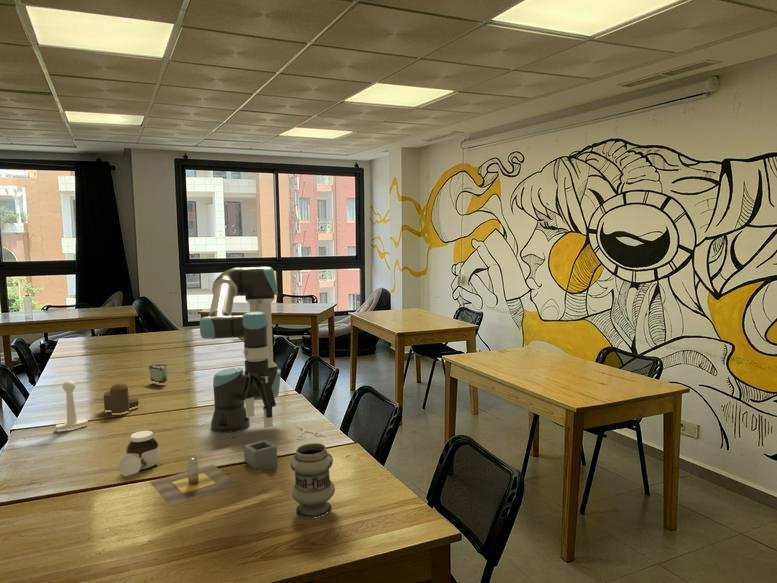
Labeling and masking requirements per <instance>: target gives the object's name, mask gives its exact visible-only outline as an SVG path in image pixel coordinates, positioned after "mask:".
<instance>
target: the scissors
mask: <svg viewBox="0 0 777 583" xmlns="http://www.w3.org/2000/svg"><path fill="white" fill-rule="evenodd" d="M302 429H303V428H302ZM303 430H305V431H303ZM303 430H301V433H300V435H298V436H296V438H297V439H298V441H301V439H303V440H304V439H305V436H304V435H303V434H305V433H308V432H312V433H311V434H312V435H315V436H314V437H323V436H324V438H325V436H326V435H323V433H322V432H319V433H320V434H315V433H316V432H314V431H309V430H307V429H306V428H305V429H303ZM304 432H305V433H304ZM320 435H321V436H320ZM300 436H302V437H300ZM297 439H296V440H297Z"/></svg>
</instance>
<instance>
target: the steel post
mask: <svg viewBox="0 0 777 583" xmlns="http://www.w3.org/2000/svg"><path fill="white" fill-rule="evenodd" d="M198 463H199V462H198V460H197V458H196V457H191V458H190V459H189V458H188V460H187V463H186V464H187V471H188V484H189V485H195V484H197V483H199V477H198V468H199V464H198Z"/></svg>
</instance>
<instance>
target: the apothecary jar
mask: <svg viewBox="0 0 777 583" xmlns="http://www.w3.org/2000/svg"><path fill="white" fill-rule="evenodd" d="M333 462H334V460H333V457H332V455H331V453H329V452H328V450H327V447H326V445H324V444H323V443H318V442H317V443H316V442H314V443H313V442H311V443H305V444H302V445H299V446H298V447H297V448H296V450H295V454H294V456H293V457H292V458H291V460H290V463H289V464H290V465H289V466H290V468H291V470H292V471H293V472H294V478H295V483H294V484H293V486H292V487H291V497H292V498H293V500H294V501H295V502H296V503H298V505H297V507H296V509H295V512H296V514H297V513H298V515H300V517H301V516H302V517H301V518H303V517H306V518H305V519H309V518H313V519H315V518H314V517H319V516H322V515H325V514H326V513H327V512H329V511H330V509H331V510H332V504H331V503H330V502H328V501H329V500H331V498H332V497H333V496H334V494H335V491H336V488H335V484H334V482H332V480H331V478H330V469H331V467H332V466H333V464H334V463H333ZM330 512H331V511H330ZM330 512H329V513H330ZM325 516H326V515H325Z"/></svg>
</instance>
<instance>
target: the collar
mask: <svg viewBox="0 0 777 583" xmlns="http://www.w3.org/2000/svg"><path fill="white" fill-rule="evenodd" d="M243 452H244V462H245V463H246V464H248V465H249V466H250V467H252V468H253V469H255V470H256V469H258V470H260V471H261V472H264V471H268V470H270V469H274V468H276V467H278V447H277V445H275V444H274V443H272V442H270V440H267V439H263V440H259V441H256V442H255V441H254V442H252V443H248V444H245V445H243Z"/></svg>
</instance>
